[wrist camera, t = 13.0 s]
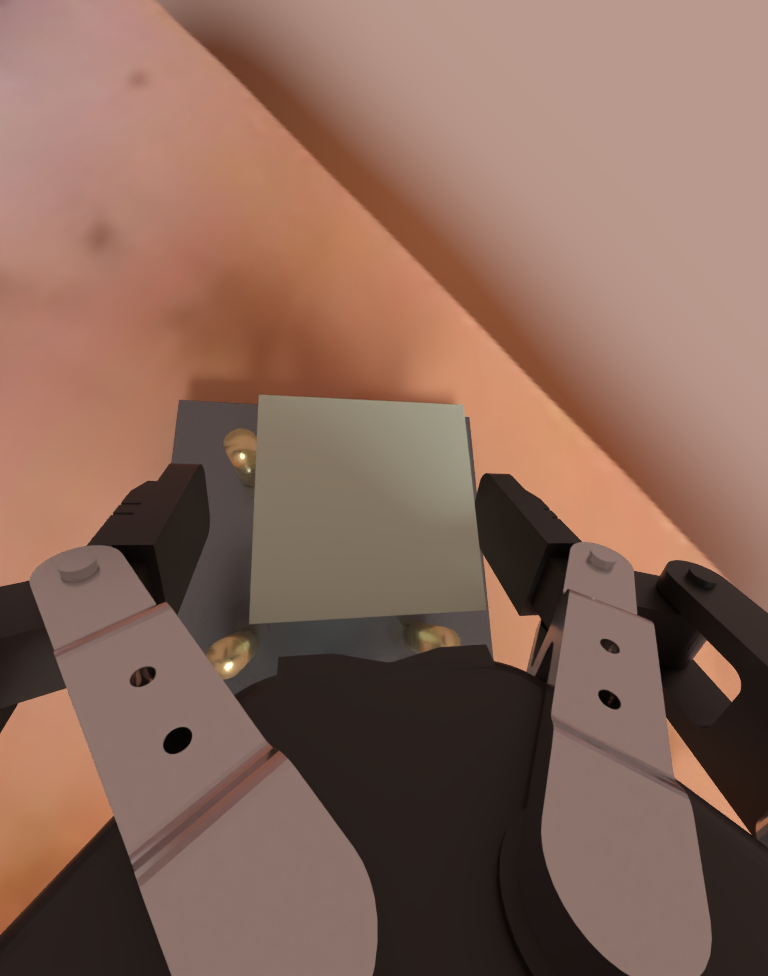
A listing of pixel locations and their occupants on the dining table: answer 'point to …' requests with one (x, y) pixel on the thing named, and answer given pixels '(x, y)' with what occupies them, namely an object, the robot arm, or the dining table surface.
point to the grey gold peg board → (228, 559)
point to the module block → (362, 511)
